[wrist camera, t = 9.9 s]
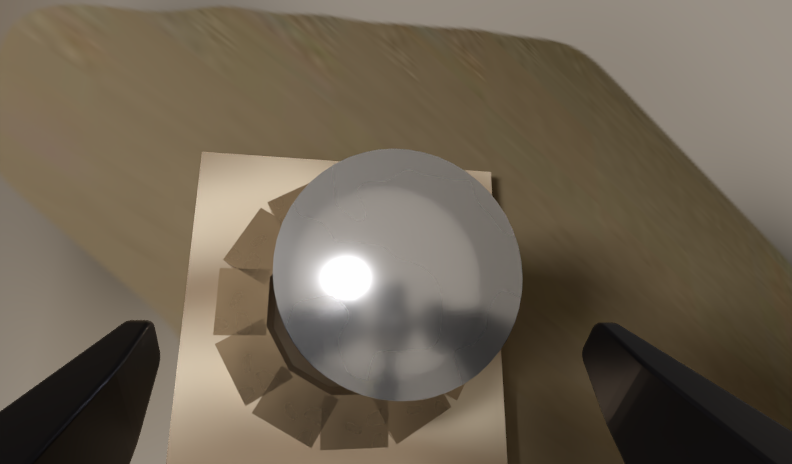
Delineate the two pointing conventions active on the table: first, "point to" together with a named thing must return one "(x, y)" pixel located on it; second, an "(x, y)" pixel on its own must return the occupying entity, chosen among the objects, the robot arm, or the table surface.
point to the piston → (397, 275)
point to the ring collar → (272, 368)
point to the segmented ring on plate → (290, 348)
